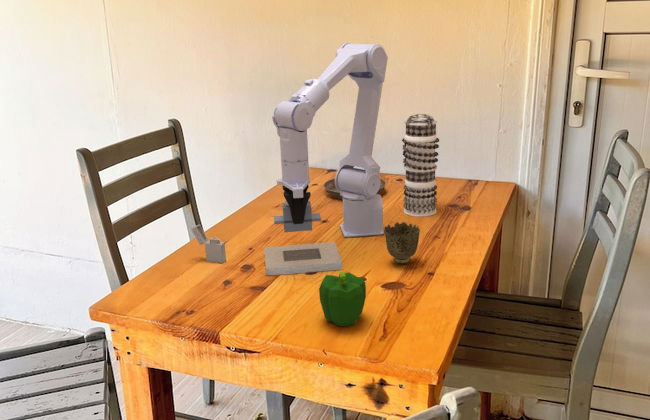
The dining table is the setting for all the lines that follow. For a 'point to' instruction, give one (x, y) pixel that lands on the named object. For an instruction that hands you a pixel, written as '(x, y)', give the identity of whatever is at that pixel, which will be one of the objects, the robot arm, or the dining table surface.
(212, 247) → the lighter
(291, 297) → the dining table surface
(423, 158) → the decorative candle
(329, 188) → the plant saucer
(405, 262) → the cup
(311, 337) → the dining table surface
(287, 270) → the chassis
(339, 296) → the bell pepper
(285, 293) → the dining table surface
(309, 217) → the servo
